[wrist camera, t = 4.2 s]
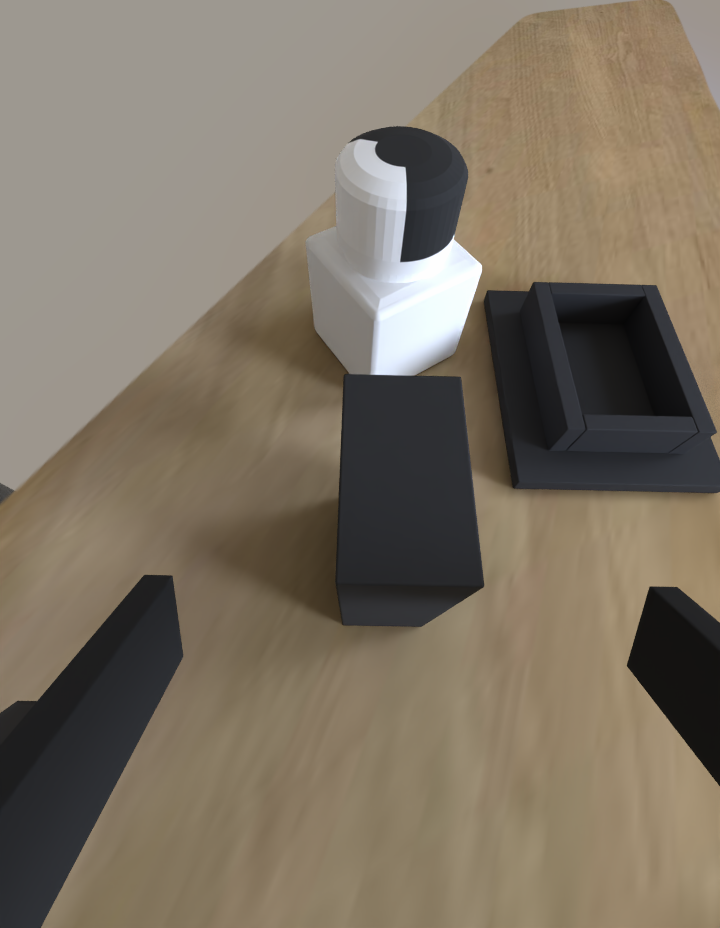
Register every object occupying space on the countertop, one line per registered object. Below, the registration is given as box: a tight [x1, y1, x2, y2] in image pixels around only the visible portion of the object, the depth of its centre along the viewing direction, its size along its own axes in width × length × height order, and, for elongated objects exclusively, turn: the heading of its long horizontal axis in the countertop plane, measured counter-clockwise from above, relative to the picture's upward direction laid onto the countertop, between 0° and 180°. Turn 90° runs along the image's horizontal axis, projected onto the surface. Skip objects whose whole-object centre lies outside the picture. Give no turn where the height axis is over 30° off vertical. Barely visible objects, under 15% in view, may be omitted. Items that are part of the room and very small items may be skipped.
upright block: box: [335, 374, 484, 627], centre depth 18 cm, size 4×7×11 cm, turn 179°
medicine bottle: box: [306, 126, 482, 376], centre depth 24 cm, size 7×7×12 cm
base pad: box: [484, 282, 720, 493], centre depth 26 cm, size 12×15×4 cm
